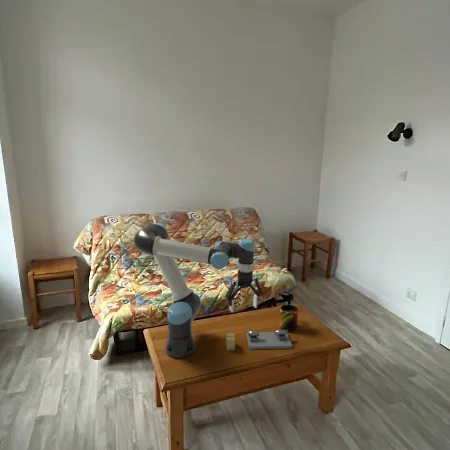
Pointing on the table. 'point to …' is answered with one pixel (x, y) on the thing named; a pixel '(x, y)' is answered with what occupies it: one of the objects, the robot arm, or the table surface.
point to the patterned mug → (288, 318)
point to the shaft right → (281, 334)
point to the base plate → (269, 341)
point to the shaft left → (253, 335)
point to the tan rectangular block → (230, 341)
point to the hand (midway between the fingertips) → (243, 308)
